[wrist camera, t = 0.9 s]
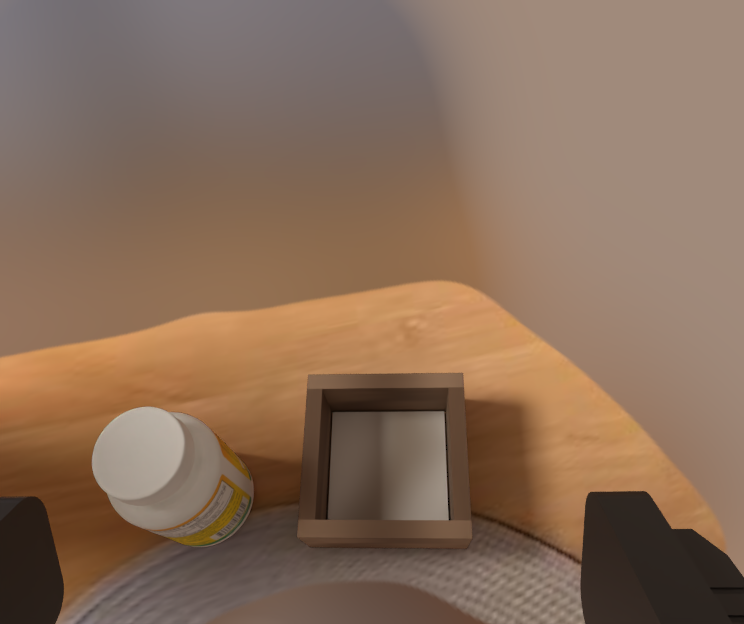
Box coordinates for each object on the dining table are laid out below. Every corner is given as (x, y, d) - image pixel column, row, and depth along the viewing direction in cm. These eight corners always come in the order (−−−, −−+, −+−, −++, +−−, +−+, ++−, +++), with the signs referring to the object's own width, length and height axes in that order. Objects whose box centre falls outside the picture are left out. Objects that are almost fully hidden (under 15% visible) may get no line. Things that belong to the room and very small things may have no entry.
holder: (310, 547, 32) (296, 537, 29) (319, 399, 36) (308, 374, 33) (466, 548, 32) (472, 538, 28) (459, 398, 36) (463, 372, 32)
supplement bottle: (255, 544, 33) (196, 514, 24) (156, 552, 33) (64, 525, 24) (257, 445, 35) (204, 386, 27) (165, 452, 35) (84, 397, 27)
